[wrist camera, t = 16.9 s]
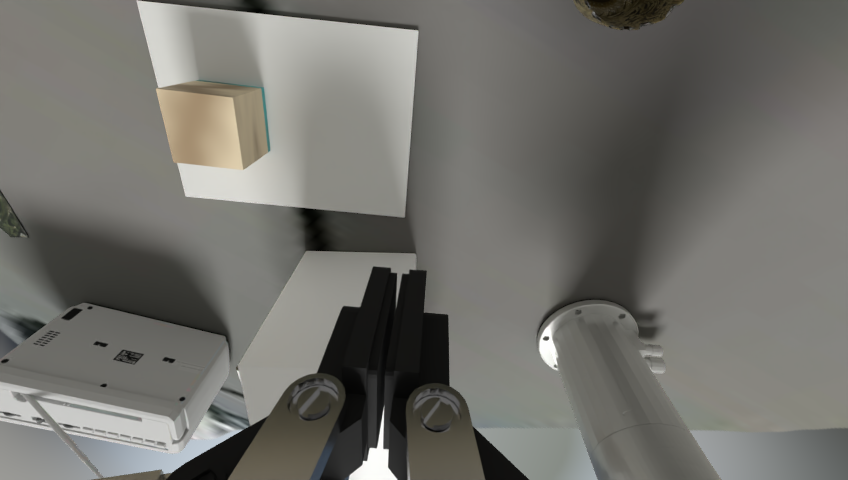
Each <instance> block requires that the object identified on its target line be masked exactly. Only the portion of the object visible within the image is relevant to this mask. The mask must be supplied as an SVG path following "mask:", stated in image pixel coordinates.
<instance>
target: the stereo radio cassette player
mask: <svg viewBox="0 0 848 480" xmlns="http://www.w3.org/2000/svg"><path fill="white" fill-rule="evenodd" d="M229 364H230V358H229V347H228V343H227V342H226V337H225V336H223V335H218V334H213V333H209V332H205V331H201V330H197V329H193V328H188V327H184V326H180V325H176V324H172V323H168V322H163V321H159V320H155V319H151V318H147V317H143V316H138V315H134V314H130V313H126V312H122V311H118V310H113V309H109V308H105V307H101V306H97V305H92V304H90V303H89V304H88V303H81V304H79V305H77V306H72V307H69V308H68V309H67V310H65V311H64V312H63V313H61V314H60V315H59V316H57V317H56V318H55V319H53V320H52V321H51V322H49V323H48V324H47V325H45V326H44V327H43V328H41V329H40V330H39V331H37V332H36V333H35V334H33V335H32V336H31V337H29V338H28V339H27V340H25V341H24V342H23V343H21V344H20V345H19V346H17V347H16V348H15V349H13V350H12V351H11V352H9V353H8V354H7V355H6V356H4V357H3V358H1V359H0V420H1V421H6V422H11V423H16V424H21V425H26V426H31V427H36V428H41V429H47V430H52V431H55V432H56V433H57V434H58V436H59V437H60V438H61V439H62V440H63V441H64V442H65V443H66V444H67V446H68V447H69V448H70V449H72V450H73V451H74V453H75V454H76V455H77V456H78V457H79V458H80V459H81V460H82V461H83V463H86V465H87V466H88V467H89V468H90V469H91V470H92V472H93V473H95V474H96V475H97V476H98V477H99V478H104V477H103V476H102V475H101V474H100V473H99V472H98V470H97V469H96V467H94V465H93V464H92V463H91V462H90V461H89V459H88V458H87V457H86V455H85V454H84V453H83V452H82V451H81V450H80V449H79V448H78V447H77V446H76V444H75V443H74V441H73V440H72V439H71V438H70V437H69V436H68V435H67V434H66V433H68V434H73V435H79V436H84V437H89V438H94V439H99V440H104V441H109V442H114V443H119V444H124V445H130V446H134V447H139V448H145V449H150V450H155V451H160V452H165V453H170V454H176V453H179V452H181V451H182V450H183V449H184V448H185V446H186V444H187V443H188V441H189V440H190V438H191V437H192V435H193V433H194V432H195V430H196V428H197V427H198V425H199V423H200V422H201V420H202V418H203V417H204V415H205V413H206V412H207V410H208V408H209V407H210V405H211V403H212V402H213V400H214V398H215V397H216V395H217V393H218V392H219V390H220V388H221V387H222V385H223V383H224V382H225V380H226V378H227V377H228V375H229Z"/></svg>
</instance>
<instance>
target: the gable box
mask: <svg viewBox="0 0 848 480" xmlns="http://www.w3.org/2000/svg"><path fill="white" fill-rule="evenodd" d="M373 266H375V267H387V268H391V272H392V273H397V292H396V306H397V300H398V294H399V289H400V283H401V278H402V273H404V274H409V270H410V269H411V270H416V254H415V253H375V252H334V251H306V252H305V253H304V255H303V257H302V258H301V260H300V262H299V263H298V265H297V267H296V268H295V270H294V272H293V273H292V275H291V277H290V278H289V280H288V282H287V283H286V285H285V287H284V288H283V290H282V292H281V293H280V295H279V297H278V298H277V300H276V302H275V303H274V305H273V307H272V308H271V310H270V312H269V313H268V315H267V317H266V318H265V320H264V322H263V323H262V325H261V327H260V328H259V330H258V332H257V333H256V335H255V337H254V338H253V340H252V342H251V343H250V345H249V347H248V348H247V350H246V352H245V354H244V355H243V357H242V359H241V360H240V362H239V364H238V365H237V367H236V369H237V372H238V375H239V378H240V381H241V384H242V389H243V394H244V399H245V404H246V408H247V413H248V418H249V423H250V426H251V425H253V424H255V423H256V422H258V421H260V420H262V419H263V418H265V417H267V416H269V414H270V413H271V411H272V410H273V408H274V407H275V405H276V404H277V402H278V401H279V399H280V397H281V396H282V394H283V393H284V391H285V390H286V389H287V388H288V387H289V385H290V384H292V383H293V382H294V381H296V380H297V379H299V378H301V377H303V376H306V375H309V374H315V373H317V371H318V368H319V366H320V363H321V361H322V358H323V355H324V353H325V350H326V348H327V345H328V342H329V340H330V337H331V335H332V332H333V329H334V327H335V324H336V321H337V319H338V316H339V314H340V311H341V309H342V307H343V306H352V307H360V306H361V303H362V300H363V297H364V293H365V290H366V287H367V284H368V281H369V278H370V274H371V271H372V268H373ZM383 431H384V409H383V415H382V422H381V428H380V434H379V440H378V446H377V448H369V454H368V459H367V461H363V464H362V466H361V467H359V468H358V469H357V470H356V471H354V472H353V473H352V474H350V476H349V480H397V478H396V477H395V476H394V475H393V473H392V472H391V471H390V469H389V468H388V453H389V450H388V449H383Z"/></svg>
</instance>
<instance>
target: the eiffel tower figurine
mask: <svg viewBox="0 0 848 480" xmlns="http://www.w3.org/2000/svg"><path fill="white" fill-rule="evenodd" d="M0 228H1V229H2V230H3V231H5V232H6V233H7V234H8V235H9V236H10V237H28V235H27V234H26V232H25V231H24V229H23V228H22V226H21V225H20V223H19V221H18V219H17V217H16V216H15V214H14V212H13V211H12V209H11V207H10V206H9V204H8V203H7V201H6V200H5V198H4V197H3V195H2V194H1V192H0Z"/></svg>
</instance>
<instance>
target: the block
mask: <svg viewBox="0 0 848 480" xmlns="http://www.w3.org/2000/svg"><path fill="white" fill-rule="evenodd" d="M156 91H157V95H158V99H159V104H160V108H161V112H162V116H163V120H164V124H165V128H166V133H167V137H168V141H169V145H170V149H171V153H172V157H173V162H175V163H184V164H193V165H202V166H211V167H219V168H228V169H237V170H244V169H246V168H247V167H248V166H250V165H251V164H253V163H254V162H255V161H257V160H258V159H260V158H261V157H262V156H264V155H265V154H267V153H268V152H269V151H271V150H270V140H269V131H268V121H267V111H266V102H265V92H264V87H255V86H247V85H238V84H230V83H222V82H213V81H205V80H196V81H191V82H186V83H181V84H176V85H171V86H166V87H161V88H156Z"/></svg>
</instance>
